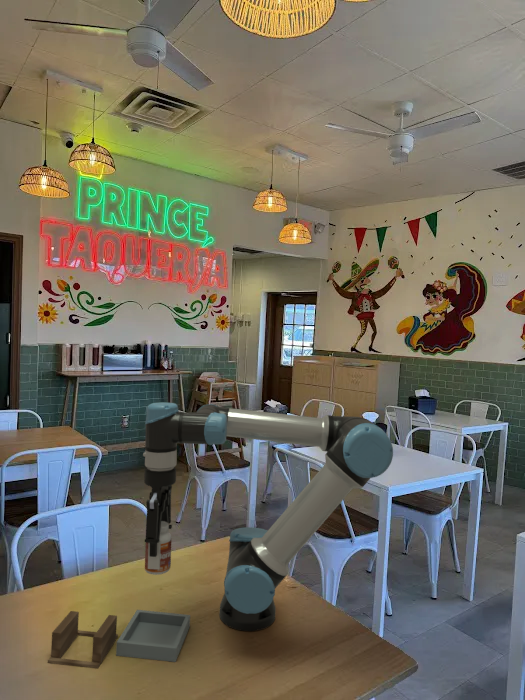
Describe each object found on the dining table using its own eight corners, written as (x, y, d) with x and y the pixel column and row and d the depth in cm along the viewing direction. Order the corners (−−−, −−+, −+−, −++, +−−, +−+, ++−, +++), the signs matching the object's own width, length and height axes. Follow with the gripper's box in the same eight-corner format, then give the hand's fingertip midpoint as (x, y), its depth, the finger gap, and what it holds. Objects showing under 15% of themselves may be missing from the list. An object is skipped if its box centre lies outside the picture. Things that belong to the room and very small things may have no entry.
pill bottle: (159, 578, 115) (160, 531, 115) (139, 571, 118) (140, 525, 118) (175, 567, 121) (177, 522, 121) (156, 561, 124) (157, 517, 124)
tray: (189, 626, 127) (190, 615, 127) (175, 661, 113) (176, 648, 113) (136, 621, 128) (137, 609, 128) (116, 655, 114) (116, 642, 114)
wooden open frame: (117, 636, 121) (119, 612, 121) (97, 668, 109) (99, 641, 109) (72, 632, 122) (73, 607, 122) (47, 662, 110) (48, 636, 110)
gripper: (156, 457, 129) (154, 544, 129) (132, 477, 110) (129, 579, 110) (184, 458, 129) (182, 546, 129) (165, 478, 109) (162, 582, 110)
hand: (158, 561), depth 120 cm, fingers closed on pill bottle, 6 cm apart
